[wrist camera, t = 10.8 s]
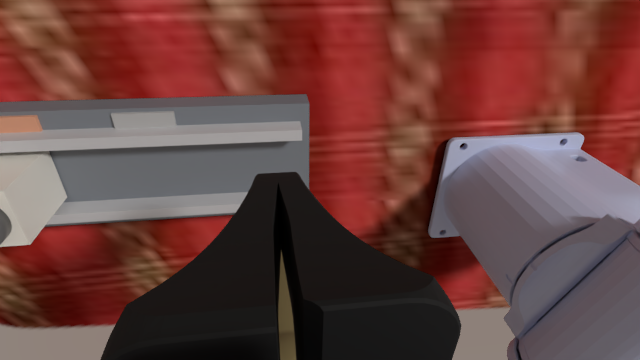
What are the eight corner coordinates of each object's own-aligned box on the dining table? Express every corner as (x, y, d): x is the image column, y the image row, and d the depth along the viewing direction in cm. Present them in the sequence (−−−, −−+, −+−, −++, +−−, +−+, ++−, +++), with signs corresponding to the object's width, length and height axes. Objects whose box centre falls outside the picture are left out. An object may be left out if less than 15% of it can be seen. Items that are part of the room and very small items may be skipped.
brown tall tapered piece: (250, 294, 29) (246, 456, 20) (225, 236, 26) (205, 397, 16) (326, 275, 29) (357, 428, 20) (310, 215, 26) (339, 364, 17)
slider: (47, 148, 19) (-9, 201, 15) (67, 197, 21) (20, 256, 17) (-16, 151, 19) (-92, 205, 15) (8, 200, 21) (-54, 262, 16)
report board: (306, 94, 21) (313, 117, 18) (306, 196, 25) (312, 229, 22) (-46, 103, 19) (-102, 131, 16) (10, 214, 23) (-27, 253, 20)
